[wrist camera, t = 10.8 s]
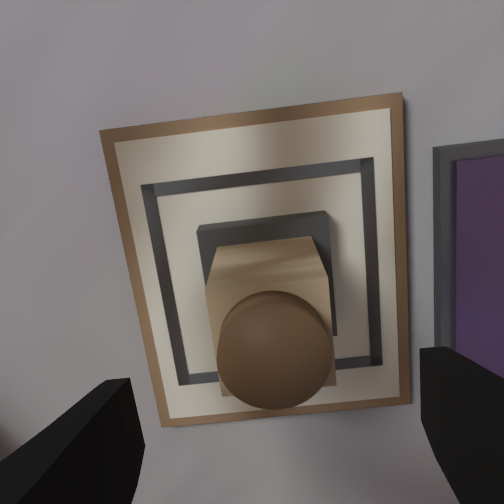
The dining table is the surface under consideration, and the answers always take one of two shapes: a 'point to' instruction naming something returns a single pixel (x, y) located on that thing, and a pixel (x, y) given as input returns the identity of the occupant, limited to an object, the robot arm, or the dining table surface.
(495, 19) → the dining table surface
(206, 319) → the board
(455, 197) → the ink pad
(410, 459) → the dining table surface
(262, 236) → the stamp
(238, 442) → the dining table surface
